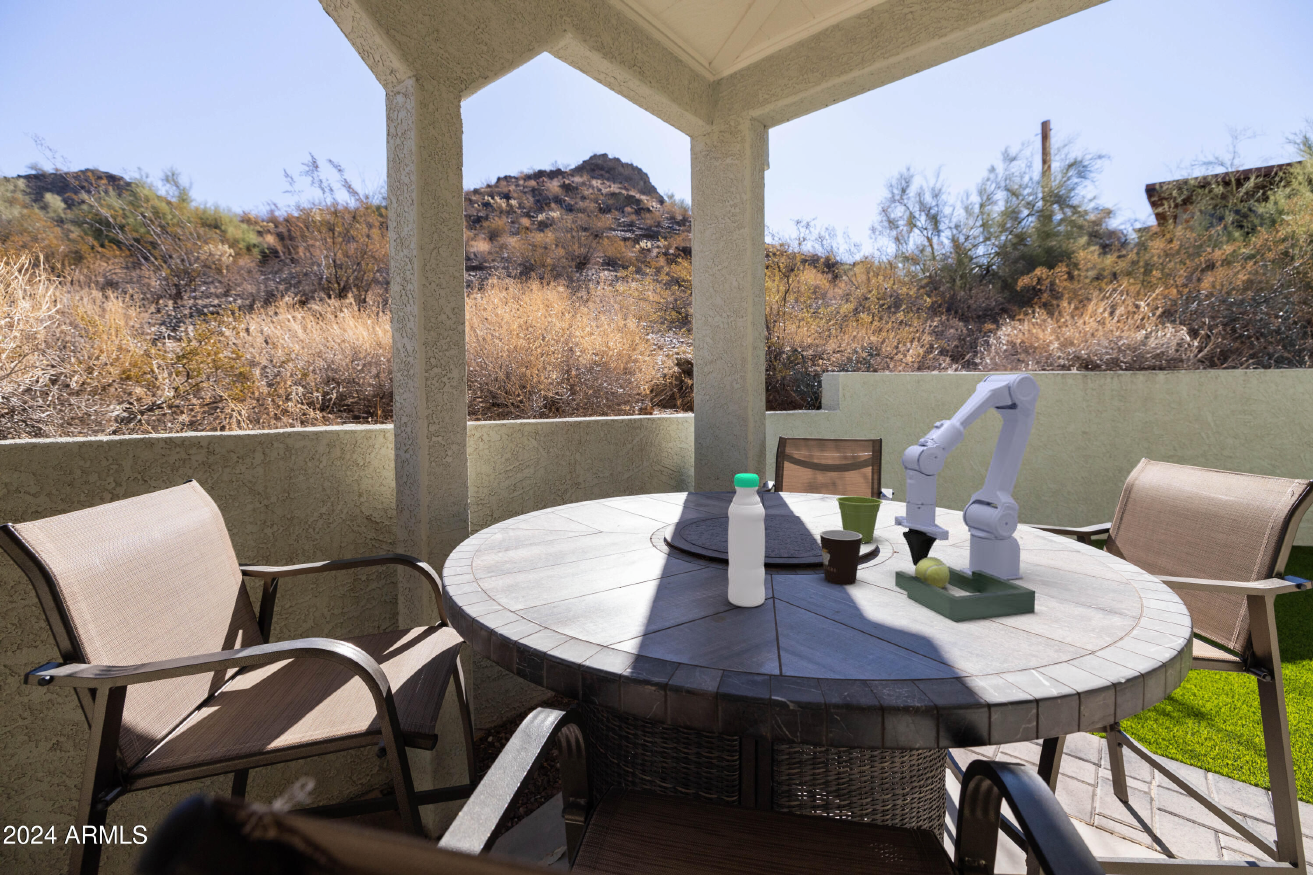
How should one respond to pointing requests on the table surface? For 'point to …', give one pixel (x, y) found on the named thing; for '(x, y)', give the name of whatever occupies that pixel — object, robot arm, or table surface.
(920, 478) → the robot arm
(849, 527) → the plant pot
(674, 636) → the table surface
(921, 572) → the tennis ball
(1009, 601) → the chute bay
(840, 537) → the coffee mug
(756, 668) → the table surface
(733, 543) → the water bottle
